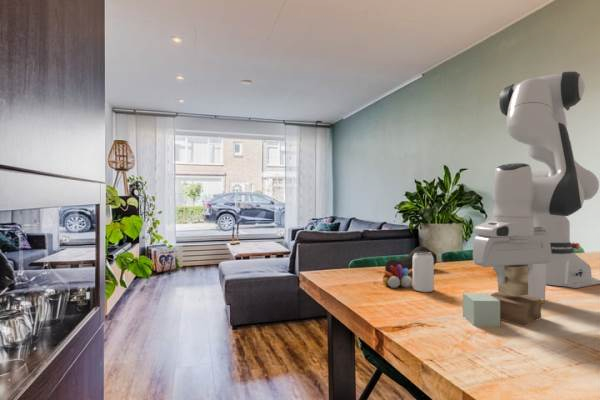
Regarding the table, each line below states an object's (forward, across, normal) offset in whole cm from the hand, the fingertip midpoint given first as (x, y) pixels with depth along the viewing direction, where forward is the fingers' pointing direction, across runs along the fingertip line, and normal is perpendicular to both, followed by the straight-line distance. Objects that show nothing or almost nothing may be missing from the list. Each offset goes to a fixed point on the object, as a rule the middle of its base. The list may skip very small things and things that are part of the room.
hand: (512, 282), depth 83 cm
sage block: (+9, +10, +1) cm, 13 cm away
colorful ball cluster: (+9, +15, -33) cm, 37 cm away
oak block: (+3, 0, 0) cm, 3 cm away
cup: (+9, -15, -11) cm, 21 cm away
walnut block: (+9, 0, 0) cm, 9 cm away
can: (+9, +9, -26) cm, 29 cm away
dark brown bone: (+9, 0, -49) cm, 50 cm away
